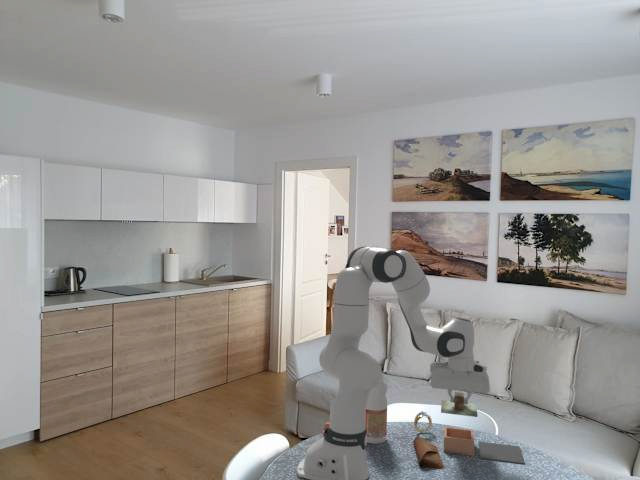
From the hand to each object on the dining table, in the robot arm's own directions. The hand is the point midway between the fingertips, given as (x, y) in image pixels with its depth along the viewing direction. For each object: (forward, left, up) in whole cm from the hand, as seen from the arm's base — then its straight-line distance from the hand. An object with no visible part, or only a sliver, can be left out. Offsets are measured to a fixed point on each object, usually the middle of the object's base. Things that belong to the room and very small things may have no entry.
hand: (459, 402), depth 176 cm
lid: (0, 0, -2) cm, 2 cm away
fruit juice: (-30, -2, -16) cm, 34 cm away
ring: (-13, +10, -16) cm, 23 cm away
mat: (+14, 0, -16) cm, 21 cm away
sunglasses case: (-10, -11, -17) cm, 22 cm away
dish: (0, 0, -16) cm, 16 cm away
